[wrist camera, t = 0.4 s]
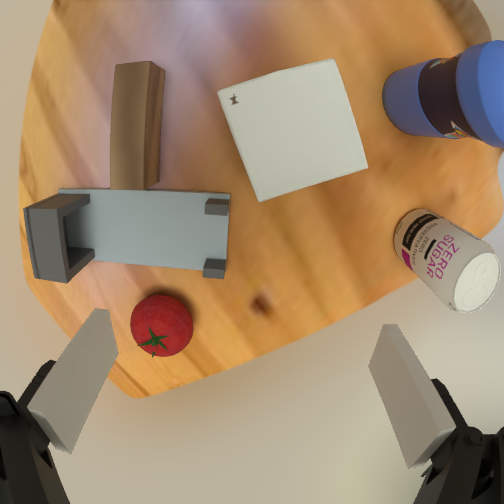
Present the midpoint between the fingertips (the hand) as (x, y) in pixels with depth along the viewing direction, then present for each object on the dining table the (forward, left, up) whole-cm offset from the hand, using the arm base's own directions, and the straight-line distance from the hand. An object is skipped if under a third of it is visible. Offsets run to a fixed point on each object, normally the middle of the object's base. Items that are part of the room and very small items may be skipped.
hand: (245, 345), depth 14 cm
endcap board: (+3, -14, -25) cm, 29 cm away
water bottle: (-17, +19, -25) cm, 36 cm away
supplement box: (-10, +3, -26) cm, 27 cm away
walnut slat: (-10, -14, -25) cm, 30 cm away
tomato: (+16, -11, -25) cm, 32 cm away
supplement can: (+1, +23, -25) cm, 35 cm away
